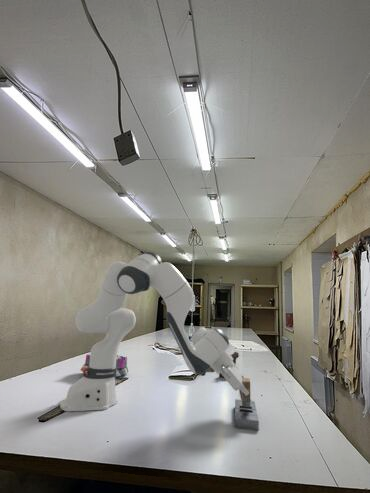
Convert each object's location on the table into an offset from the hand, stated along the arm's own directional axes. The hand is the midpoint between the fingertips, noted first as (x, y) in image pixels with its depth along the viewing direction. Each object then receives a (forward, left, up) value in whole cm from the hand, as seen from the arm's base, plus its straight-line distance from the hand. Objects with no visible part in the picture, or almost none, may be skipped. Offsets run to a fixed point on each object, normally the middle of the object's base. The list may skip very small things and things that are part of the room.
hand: (247, 391), depth 116 cm
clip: (-1, 0, -5) cm, 5 cm away
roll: (+22, +30, -10) cm, 39 cm away
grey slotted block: (0, 0, -9) cm, 10 cm away
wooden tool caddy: (+34, +57, -10) cm, 67 cm away
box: (+35, +78, -10) cm, 86 cm away
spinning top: (-36, +81, -10) cm, 89 cm away
